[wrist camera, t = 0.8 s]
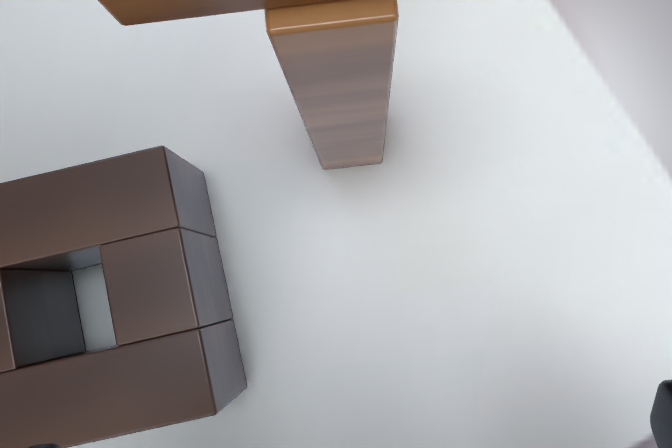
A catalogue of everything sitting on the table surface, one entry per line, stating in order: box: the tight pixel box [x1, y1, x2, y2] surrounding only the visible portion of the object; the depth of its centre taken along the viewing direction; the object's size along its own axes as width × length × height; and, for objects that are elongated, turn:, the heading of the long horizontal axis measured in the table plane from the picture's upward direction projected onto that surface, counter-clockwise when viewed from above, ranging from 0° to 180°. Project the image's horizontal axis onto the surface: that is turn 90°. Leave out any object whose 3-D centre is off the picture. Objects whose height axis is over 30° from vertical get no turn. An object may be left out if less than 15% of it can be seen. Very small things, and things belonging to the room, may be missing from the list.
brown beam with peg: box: [98, 0, 399, 169], centre depth 15 cm, size 2×7×16 cm, turn 95°
